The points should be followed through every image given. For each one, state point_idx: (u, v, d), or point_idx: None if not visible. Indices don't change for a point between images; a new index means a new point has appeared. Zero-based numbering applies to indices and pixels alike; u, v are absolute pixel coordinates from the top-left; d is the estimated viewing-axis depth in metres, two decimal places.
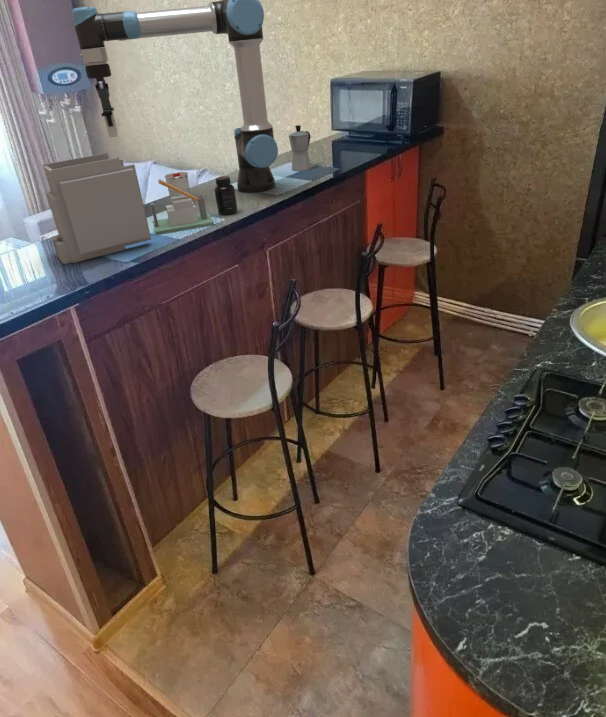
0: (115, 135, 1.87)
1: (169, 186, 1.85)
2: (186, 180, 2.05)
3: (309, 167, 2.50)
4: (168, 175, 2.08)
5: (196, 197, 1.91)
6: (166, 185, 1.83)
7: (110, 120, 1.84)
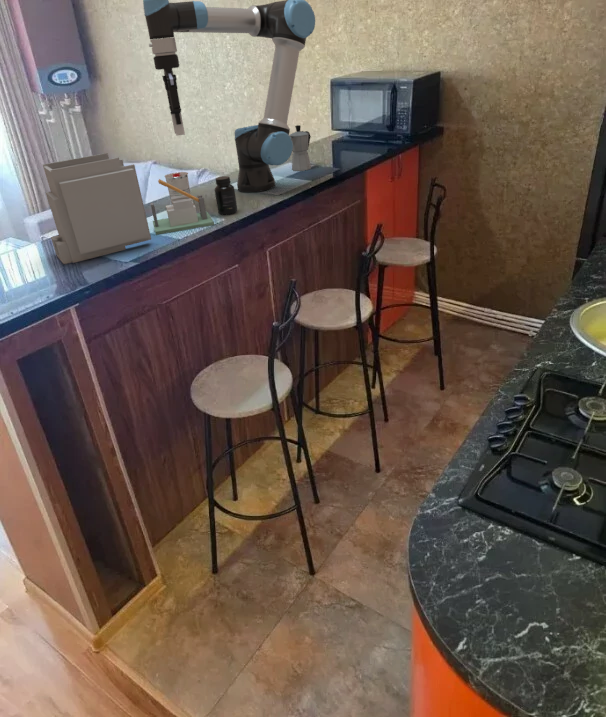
0: (182, 133, 1.87)
1: (169, 186, 1.85)
2: (186, 180, 2.05)
3: (309, 167, 2.50)
4: (168, 175, 2.08)
5: (196, 197, 1.91)
6: (166, 185, 1.83)
7: (178, 118, 1.84)
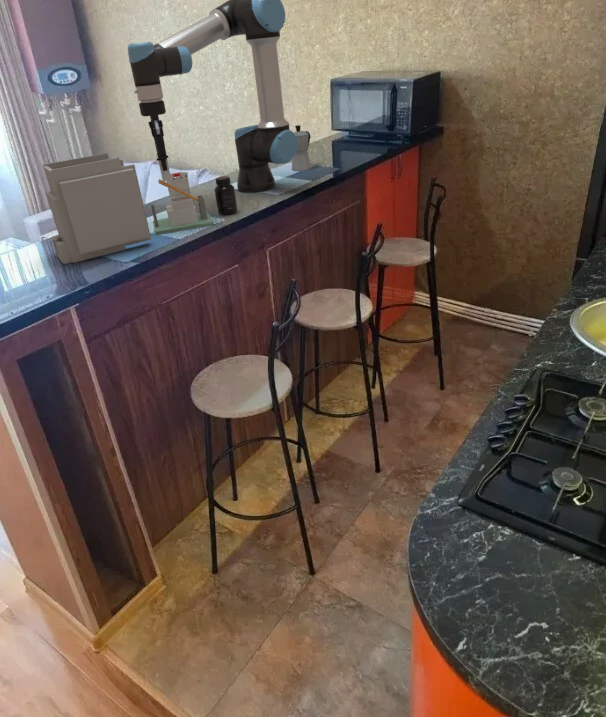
0: (169, 179, 1.84)
1: (169, 186, 1.85)
2: (186, 180, 2.05)
3: (309, 167, 2.50)
4: None
5: (196, 197, 1.91)
6: (166, 185, 1.83)
7: (165, 164, 1.80)
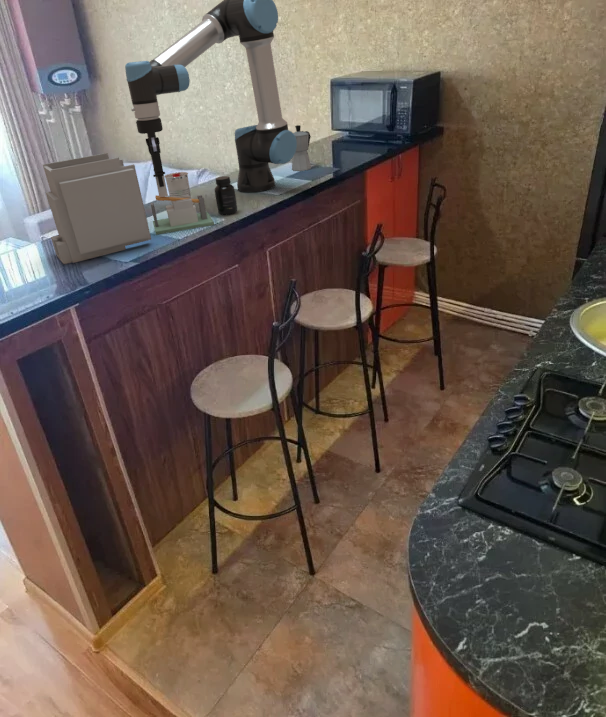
0: (165, 195, 1.86)
1: (167, 199, 1.86)
2: (186, 180, 2.05)
3: (309, 167, 2.50)
4: (168, 175, 2.08)
5: (196, 199, 1.91)
6: (163, 199, 1.85)
7: (161, 181, 1.82)
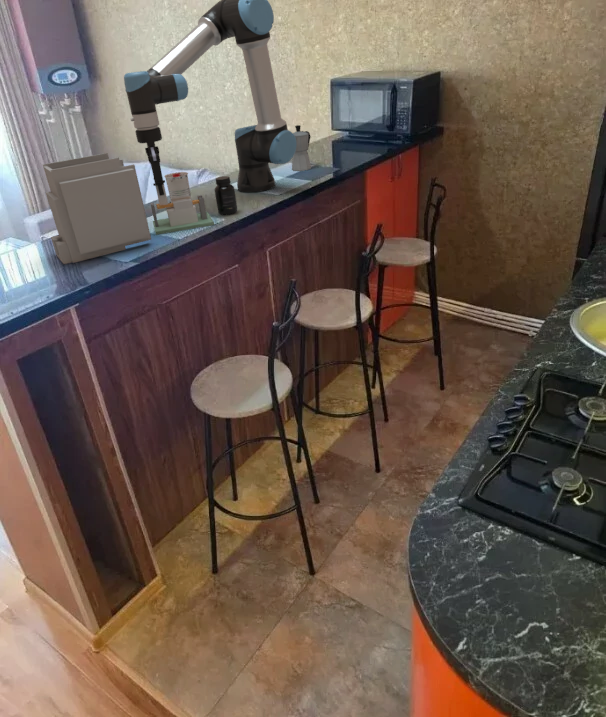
0: (166, 203, 1.87)
1: (167, 205, 1.87)
2: (186, 180, 2.05)
3: (309, 167, 2.50)
4: (168, 175, 2.08)
5: None
6: (164, 206, 1.86)
7: (161, 189, 1.84)
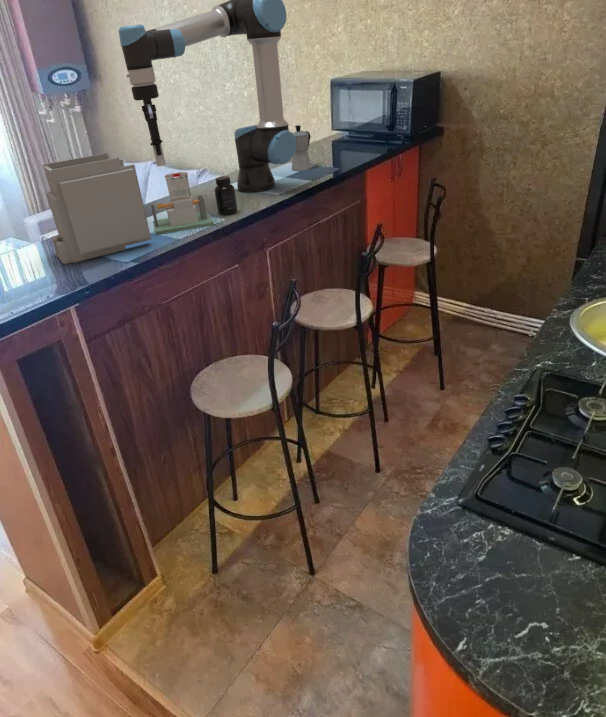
0: (163, 164, 1.83)
1: (167, 205, 1.87)
2: (186, 180, 2.05)
3: (309, 167, 2.50)
4: (168, 175, 2.08)
5: None
6: (164, 206, 1.86)
7: (159, 149, 1.80)
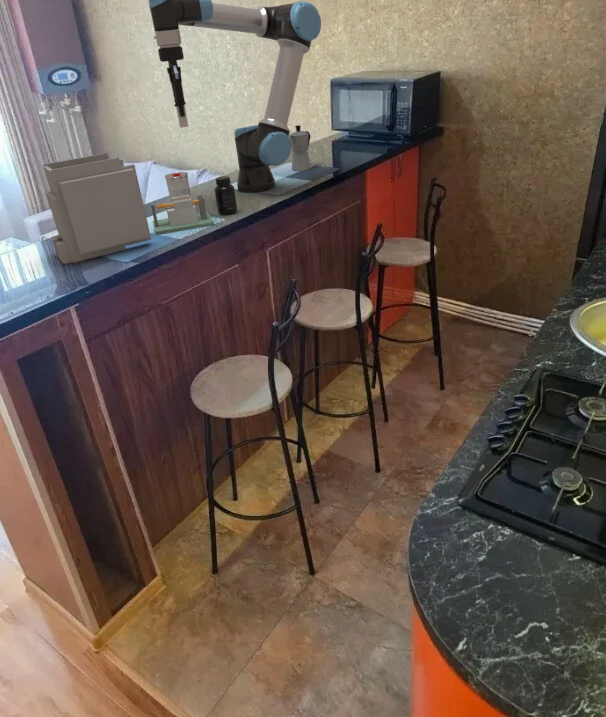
0: (186, 125, 1.90)
1: (167, 205, 1.87)
2: (186, 180, 2.05)
3: (309, 167, 2.50)
4: (168, 175, 2.08)
5: None
6: (164, 206, 1.86)
7: (182, 110, 1.87)
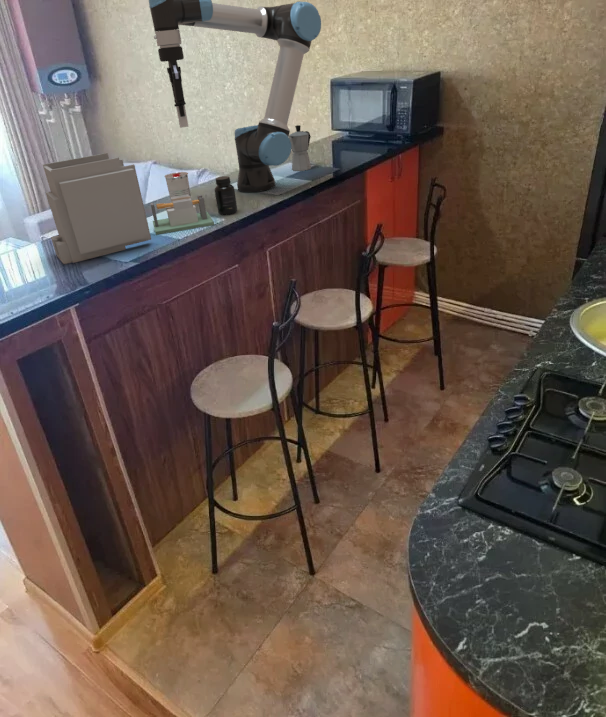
0: (186, 125, 1.90)
1: (167, 205, 1.87)
2: (186, 180, 2.05)
3: (309, 167, 2.50)
4: (168, 175, 2.08)
5: None
6: (164, 206, 1.86)
7: (182, 110, 1.87)
